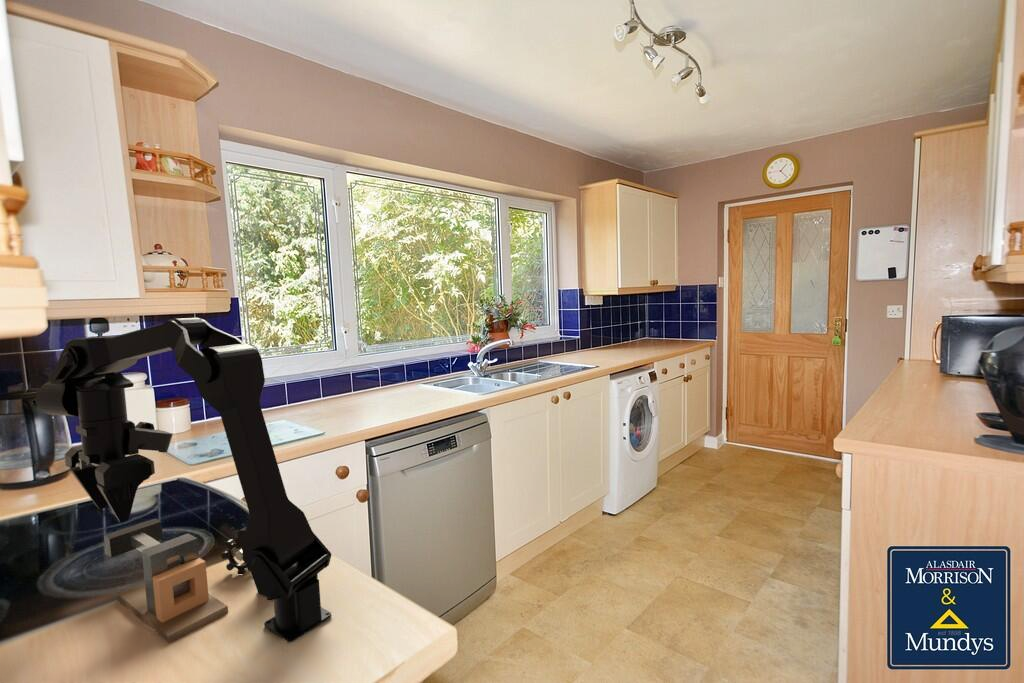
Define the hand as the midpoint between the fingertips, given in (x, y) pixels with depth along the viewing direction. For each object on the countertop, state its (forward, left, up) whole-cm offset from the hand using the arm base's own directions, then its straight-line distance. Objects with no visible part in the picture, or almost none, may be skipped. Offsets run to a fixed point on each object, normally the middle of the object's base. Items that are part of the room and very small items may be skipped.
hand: (113, 514), depth 78 cm
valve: (-10, -18, -13) cm, 24 cm away
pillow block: (-14, -2, -12) cm, 19 cm away
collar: (-17, -2, -11) cm, 20 cm away
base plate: (-13, -2, -12) cm, 18 cm away
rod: (-7, -2, -6) cm, 9 cm away
